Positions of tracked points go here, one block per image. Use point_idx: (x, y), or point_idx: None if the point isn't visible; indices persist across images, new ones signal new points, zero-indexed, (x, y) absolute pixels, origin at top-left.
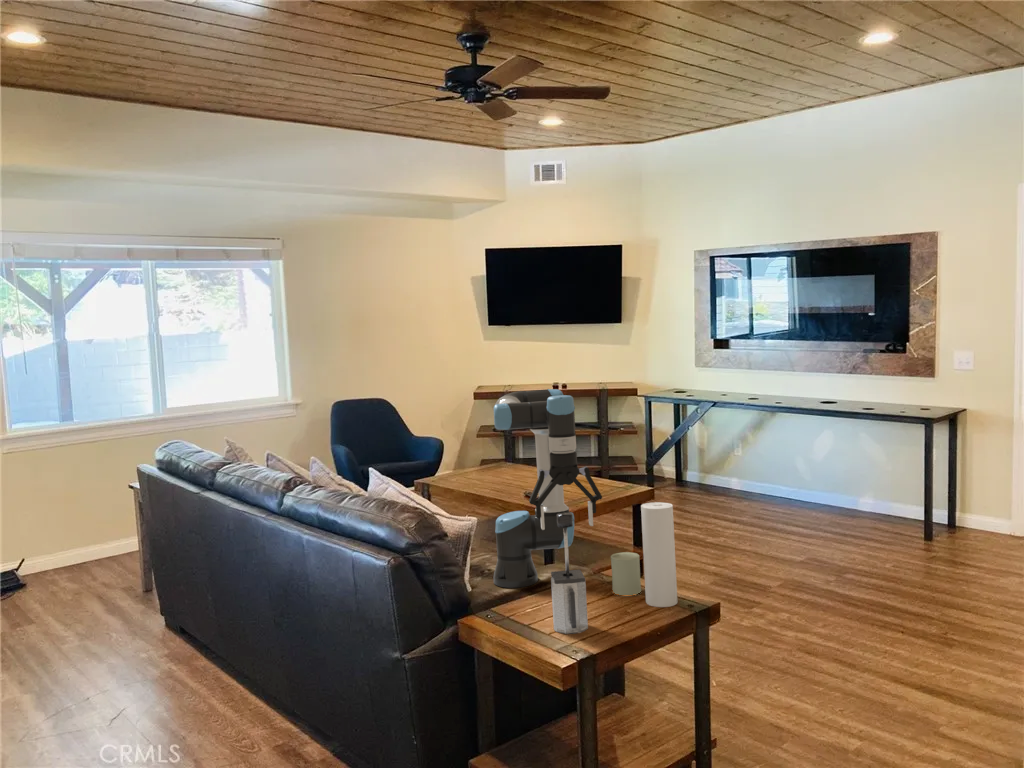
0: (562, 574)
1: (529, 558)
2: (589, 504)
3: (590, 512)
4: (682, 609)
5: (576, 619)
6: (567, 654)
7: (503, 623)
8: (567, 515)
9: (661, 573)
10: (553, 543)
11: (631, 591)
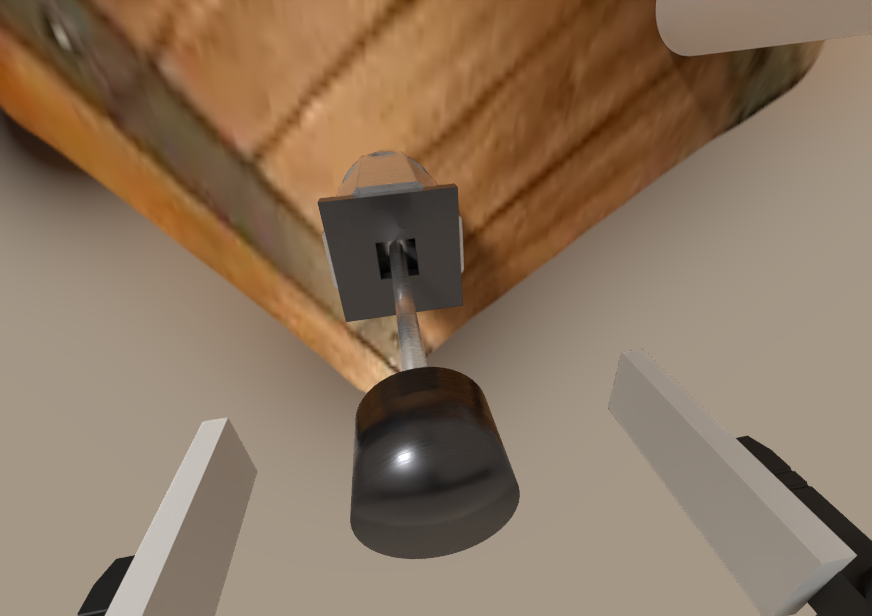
0: (374, 250)
1: None
2: (749, 598)
3: (685, 505)
4: (721, 90)
5: None
6: (381, 352)
7: (160, 136)
8: (463, 541)
9: (790, 42)
10: None
11: None
